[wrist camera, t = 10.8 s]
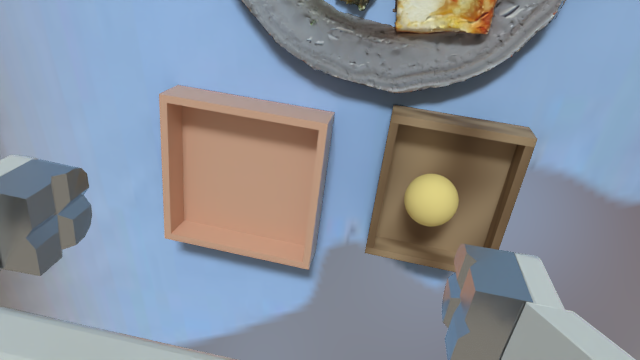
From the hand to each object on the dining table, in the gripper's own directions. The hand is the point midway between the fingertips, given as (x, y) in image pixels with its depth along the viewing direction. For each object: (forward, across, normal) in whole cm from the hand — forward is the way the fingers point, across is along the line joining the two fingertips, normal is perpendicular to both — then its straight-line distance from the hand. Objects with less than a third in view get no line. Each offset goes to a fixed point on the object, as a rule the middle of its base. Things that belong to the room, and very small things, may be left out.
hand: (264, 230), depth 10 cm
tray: (+26, -8, +10) cm, 29 cm away
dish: (+26, +8, +12) cm, 30 cm away
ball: (+23, -8, +10) cm, 27 cm away
